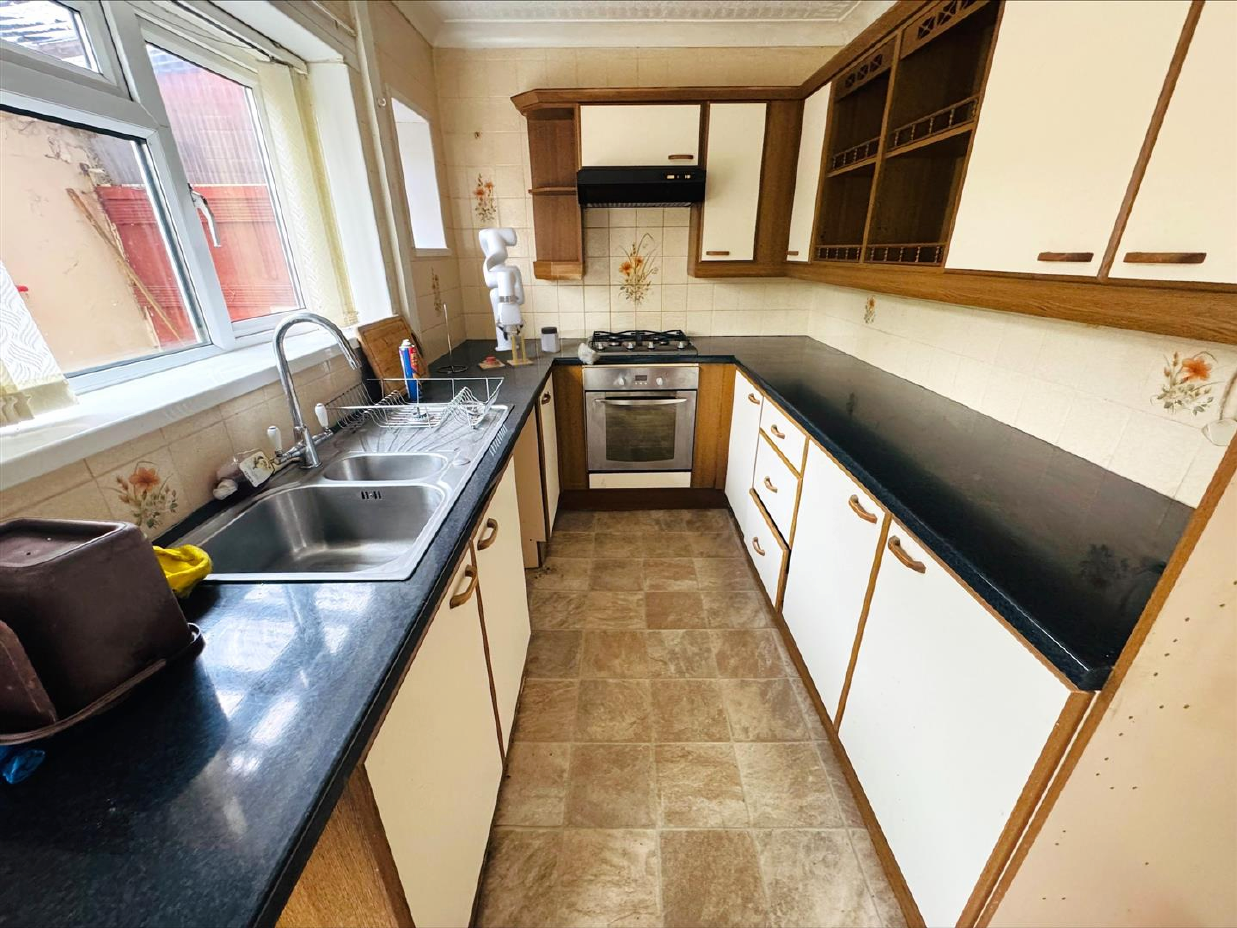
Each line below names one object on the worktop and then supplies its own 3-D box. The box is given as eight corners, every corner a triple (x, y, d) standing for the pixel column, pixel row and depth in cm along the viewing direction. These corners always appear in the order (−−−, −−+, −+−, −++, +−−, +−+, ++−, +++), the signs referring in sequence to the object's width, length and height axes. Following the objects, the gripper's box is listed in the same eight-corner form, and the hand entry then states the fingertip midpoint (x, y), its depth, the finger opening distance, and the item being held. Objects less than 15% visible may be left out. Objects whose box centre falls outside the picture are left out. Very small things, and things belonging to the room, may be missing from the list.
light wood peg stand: (506, 363, 240) (502, 333, 235) (527, 360, 244) (523, 331, 239) (512, 367, 230) (509, 337, 225) (534, 365, 234) (531, 334, 229)
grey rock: (582, 363, 243) (565, 348, 230) (592, 351, 242) (575, 335, 230) (602, 378, 234) (585, 363, 222) (612, 365, 234) (596, 349, 221)
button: (485, 361, 233) (485, 357, 232) (494, 360, 235) (494, 356, 234) (487, 363, 230) (487, 359, 229) (496, 361, 231) (496, 358, 231)
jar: (548, 349, 268) (545, 326, 264) (561, 350, 266) (560, 326, 261) (539, 353, 261) (537, 329, 256) (554, 353, 258) (552, 329, 253)
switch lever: (506, 335, 241) (505, 330, 240) (516, 334, 243) (516, 329, 241) (512, 342, 231) (512, 336, 230) (523, 340, 233) (523, 335, 232)
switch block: (478, 366, 236) (477, 359, 235) (499, 363, 240) (499, 357, 239) (483, 371, 226) (482, 364, 225) (505, 368, 230) (505, 361, 229)
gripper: (523, 298, 241) (527, 336, 248) (487, 300, 234) (493, 340, 241) (528, 299, 234) (532, 338, 241) (491, 301, 228) (496, 342, 235)
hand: (512, 339), depth 241 cm, fingers closed on switch lever, 5 cm apart
